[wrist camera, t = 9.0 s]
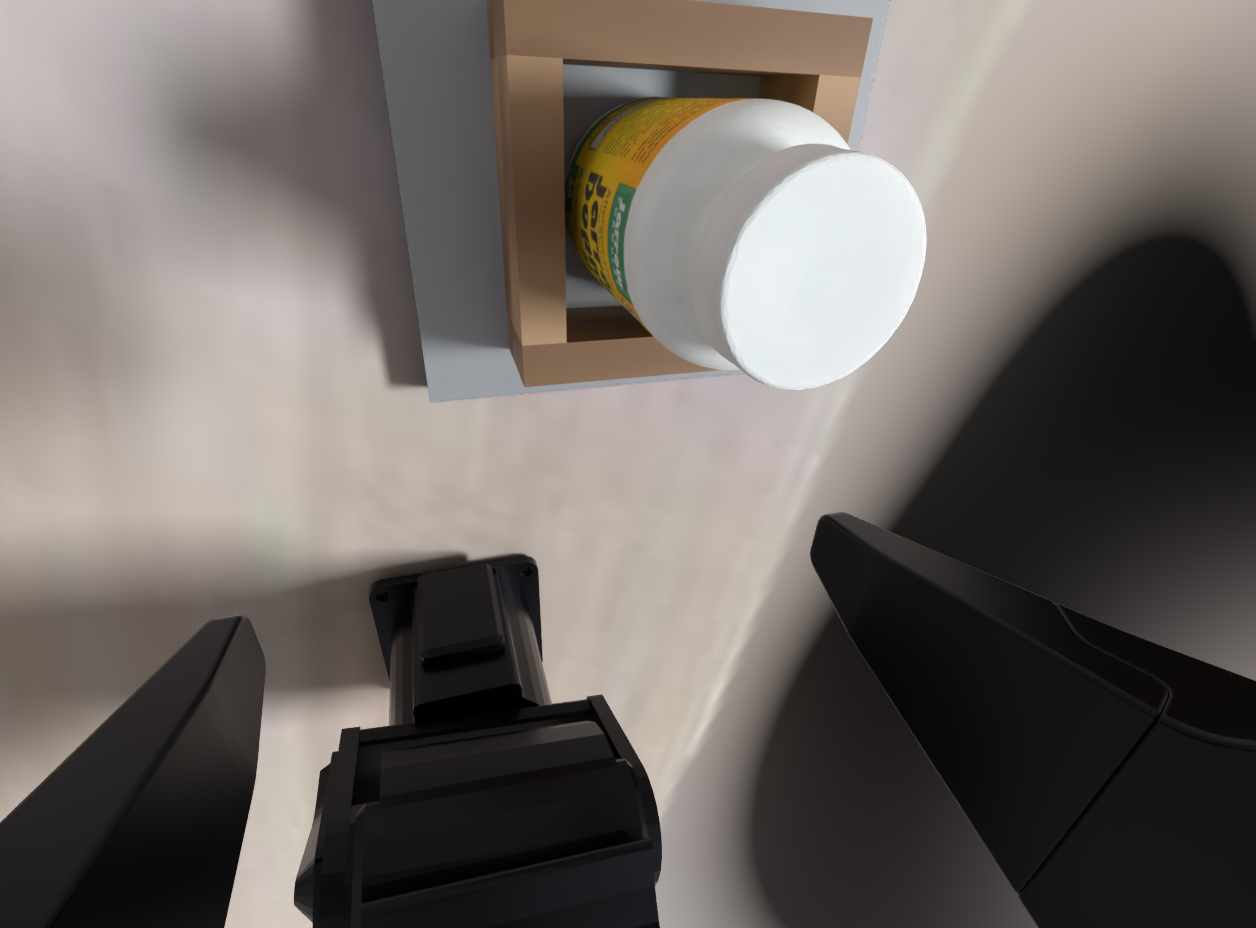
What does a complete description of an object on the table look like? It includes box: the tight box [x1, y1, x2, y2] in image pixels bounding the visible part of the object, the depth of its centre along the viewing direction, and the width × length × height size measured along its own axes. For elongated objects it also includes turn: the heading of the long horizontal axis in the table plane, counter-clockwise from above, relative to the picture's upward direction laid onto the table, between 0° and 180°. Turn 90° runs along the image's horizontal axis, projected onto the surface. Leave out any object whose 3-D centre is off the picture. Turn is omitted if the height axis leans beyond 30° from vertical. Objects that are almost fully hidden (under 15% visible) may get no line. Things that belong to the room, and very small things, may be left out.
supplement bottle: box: [564, 97, 926, 390], centre depth 14 cm, size 5×5×10 cm
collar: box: [486, 0, 873, 387], centre depth 17 cm, size 9×9×3 cm
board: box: [372, 0, 891, 403], centre depth 18 cm, size 12×14×1 cm
